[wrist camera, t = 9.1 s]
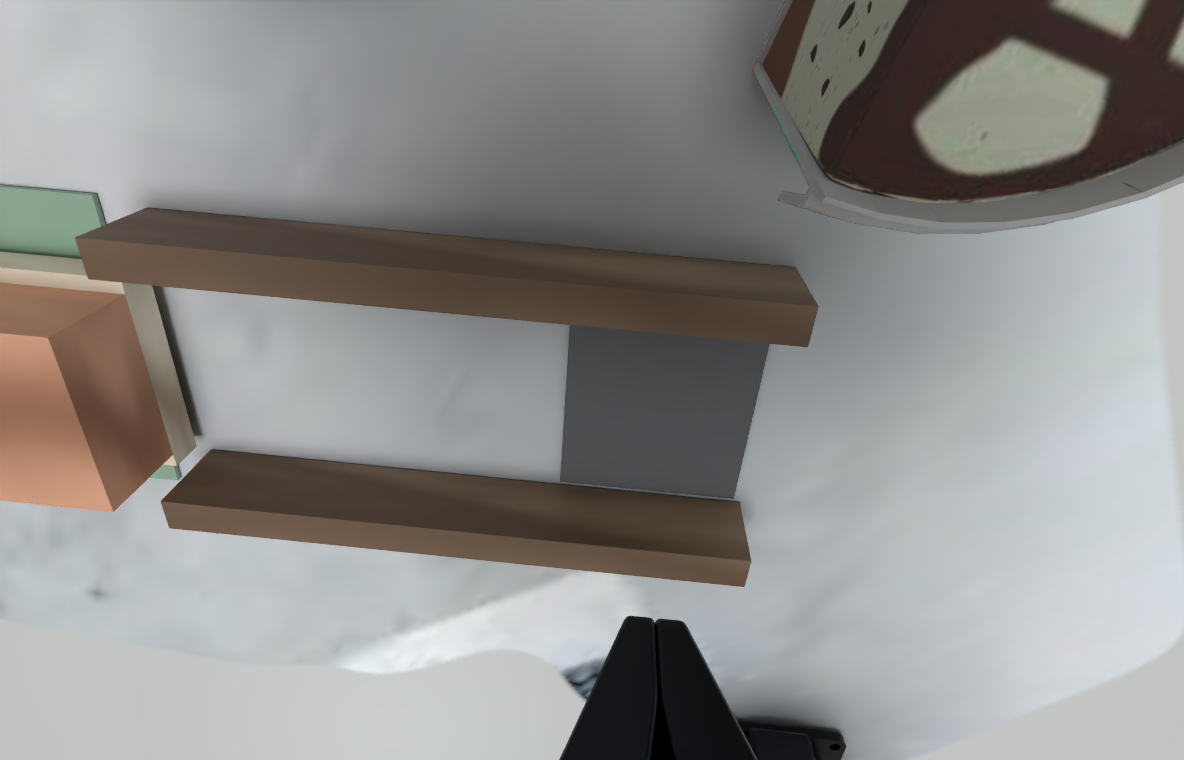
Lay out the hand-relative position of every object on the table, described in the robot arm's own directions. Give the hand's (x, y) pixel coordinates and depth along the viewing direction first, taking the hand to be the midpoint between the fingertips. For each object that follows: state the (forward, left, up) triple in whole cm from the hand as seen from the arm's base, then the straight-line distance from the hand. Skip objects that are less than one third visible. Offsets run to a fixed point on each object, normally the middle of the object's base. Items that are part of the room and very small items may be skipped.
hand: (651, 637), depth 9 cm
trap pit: (-4, -1, -13) cm, 14 cm away
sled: (-4, +20, -13) cm, 24 cm away
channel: (-4, +6, -13) cm, 15 cm away
